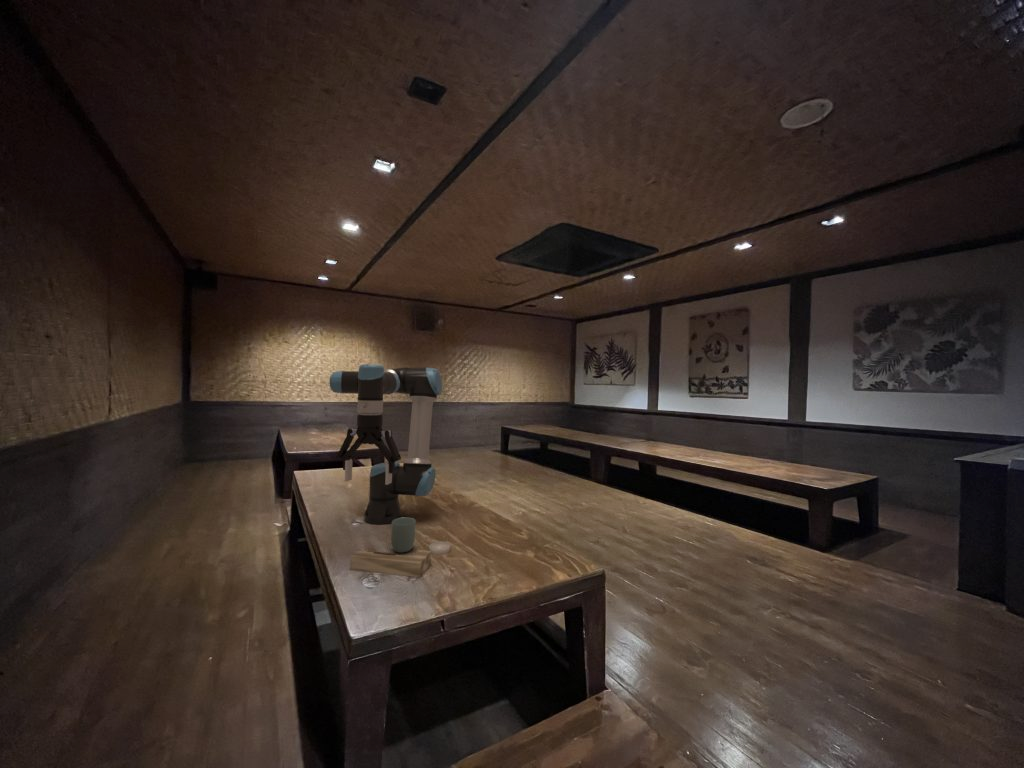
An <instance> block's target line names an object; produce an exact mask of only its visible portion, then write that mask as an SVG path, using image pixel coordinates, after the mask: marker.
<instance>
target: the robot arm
mask: <svg viewBox="0 0 1024 768" xmlns="http://www.w3.org/2000/svg"><path fill="white" fill-rule="evenodd" d="M442 380H443V379H442V377H441V373H440V371H439V370H438V369H437V368H435V367H434V368H433V367H403V366H402V367H397V368H389V369H388V368H387V369H385V368H384V366H383V365H382V364H370V363H369V364H363V363H362V364H360V365H359V367H358V371H351V370H350V371H348V370H347V371H346V370H339V371H334V372H332V373H331V374H330V377H329V388H330V390H331V391H332V392H333V393H335V394H357V414H358V415H357V417H356V426H357V428H354V427H352V428H348V429H347V430H346V436H345V438H344V439H343V443H342V445H341V447H340V449H339V451H338V452H337V455H336V456H337V458H339V459H342V470H343V471H344V482H349V481H352V480H353V459H352V458H351V457H353V455H354V454H355V453H356V452H357V451H358V450H359V448H360V447H361V446H362V445H367V444H368V445H375V446H376V447H377V448H378V450H379V451H380V452H381V453H382V455H383V456H384V458H385V459H386V462H381V463H377V464H374V465H373V466H371V467H370V472H369V473H370V474H369V496H368V498H369V499H368V504H367V506H366V509H365V512H364V515H363V521H364V522H365V523H368V524H371V525H386V524H387V525H388V524H392V521H393V520H394V519H396V518H401V517H403V511H402V508H401V505H400V501H399V495H400V496H414V497H415V496H416V497H425V496H428V495H429V494H430V493H431V492H432V490H433V488H434V484H435V481H436V474H437V473H436V468H435V467H432V462H431V460H430V459H429V457H430V455H429V454H430V445H431V444H430V442H431V431H432V429H431V428H432V418H433V417H432V416H433V406H434V405H433V403H435V401H437V398H438V396H440V395H441V394H442V391H443V381H442ZM395 393H396V394H405V395H408V396H409V399H410V400H411V401H412V404H411V413H410V414H411V416H410V428H409V437H408V438H409V439H408V440H409V441H408V450H407V457H406V459H405V460H404V461H403V464H402V465H401V463H400V462H399V461H400V460H401V459H402V457H401V454H400V451H399V450H398V447H397V445H396V442H395V439H394V438H393V431H392V430H391V429H387V430H383V421H384V420H383V419H384V416H383V414H382V413H384V395H387V396H390V395H392V394H395ZM356 435H357V438H356V440H354V437H355V436H356ZM382 438H384V439H385V441H384V440H383V439H382ZM353 440H354V443H353V444H352V442H353ZM385 442H386V444H385ZM351 444H352V445H351Z"/></svg>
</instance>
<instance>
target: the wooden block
mask: <svg viewBox="0 0 1024 768" xmlns="http://www.w3.org/2000/svg"><path fill="white" fill-rule="evenodd" d="M349 559H350V563H349V570H350V571H357V572H366V573H367V572H368V573H369V572H370V573H377V574H387V575H394V576H395V575H396V576H403V577H404V576H405V577H413V578H414V577H416V578H421V577H422V575H423V574H424V573H425V572H426V570H427V569H428V568H429V567H430V566H431V564H432V553H431V551H429V550H425V549H424V550H421V549H418V550H417V551H416V552H415V554H414V555H412V556H411V555H403V554H402V555H401V554H396V553H392V552H379V551H373V552H372V551H361V550H357V551H355V553H353V554H352V555H350V558H349Z"/></svg>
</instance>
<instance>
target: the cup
mask: <svg viewBox="0 0 1024 768" xmlns="http://www.w3.org/2000/svg"><path fill="white" fill-rule="evenodd" d="M416 523H417V521H416V519H415V518H414V517H407V516H405V517H403V516H402V517H401V518H396V519H394V520H393V521H392V523H391V528H390V529H391V531H390V533H391V534H390V541H391V543H390V544H391V547H392V549H393V551H394V552H396V553H408V552H410V550H412V549H413V547H414V544H415V541H416V527H417V526H416Z"/></svg>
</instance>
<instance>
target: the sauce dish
mask: <svg viewBox="0 0 1024 768" xmlns="http://www.w3.org/2000/svg"><path fill="white" fill-rule="evenodd" d="M428 548H429V549H428V551H431V555H432V554H433V555H444V554H448V553H450V551H451V543H450V542H448V541H442V540H440V541H438V540H437V541H433V542H432V543H430V544H429V547H428Z"/></svg>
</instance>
